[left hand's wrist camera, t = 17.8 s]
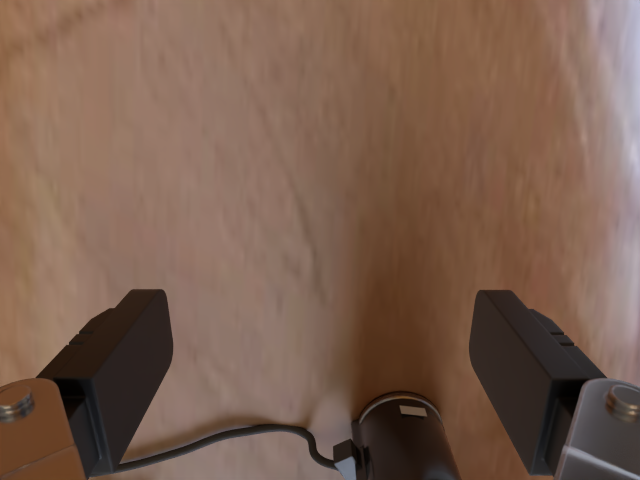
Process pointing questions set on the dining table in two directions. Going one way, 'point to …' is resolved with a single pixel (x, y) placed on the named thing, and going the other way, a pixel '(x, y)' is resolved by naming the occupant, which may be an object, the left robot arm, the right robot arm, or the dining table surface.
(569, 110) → the dining table surface
